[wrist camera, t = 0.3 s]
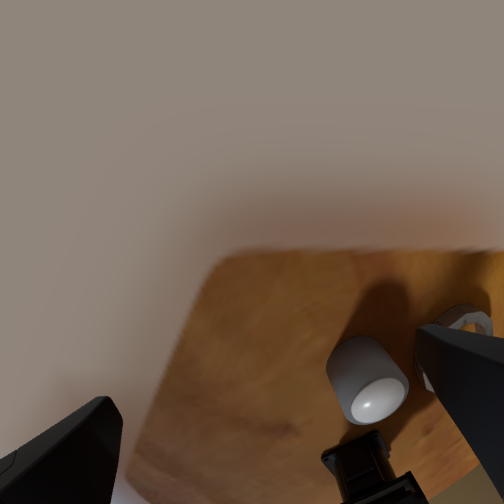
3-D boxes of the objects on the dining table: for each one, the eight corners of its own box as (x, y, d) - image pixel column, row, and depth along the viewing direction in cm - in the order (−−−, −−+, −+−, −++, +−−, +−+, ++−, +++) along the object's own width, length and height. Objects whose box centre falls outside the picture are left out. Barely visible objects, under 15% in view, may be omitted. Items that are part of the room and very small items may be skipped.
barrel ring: (484, 350, 24) (494, 358, 22) (422, 397, 25) (430, 407, 23) (477, 287, 22) (489, 294, 20) (406, 339, 23) (416, 349, 21)
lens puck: (388, 366, 23) (415, 403, 18) (338, 394, 24) (356, 436, 19) (372, 324, 22) (402, 360, 17) (316, 356, 23) (334, 399, 17)
